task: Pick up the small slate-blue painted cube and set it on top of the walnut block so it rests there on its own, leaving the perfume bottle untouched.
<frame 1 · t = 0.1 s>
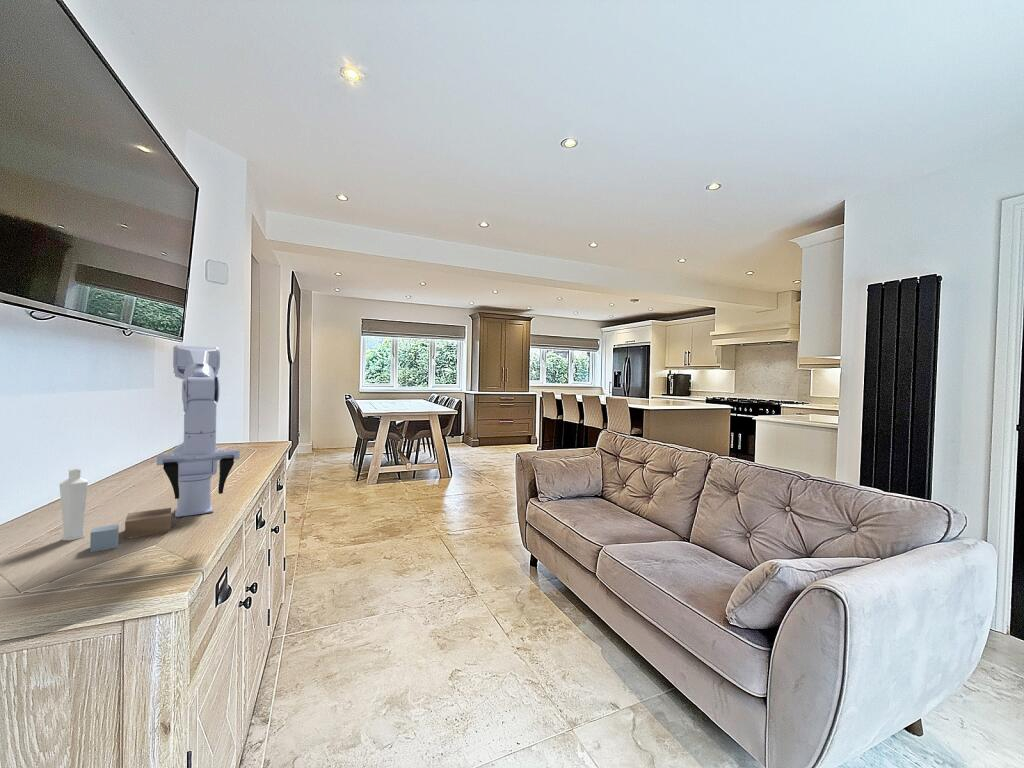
hand: (199, 495, 96), 10 cm above the table, tool pointing down, fingers open, 7 cm apart
perfume bottle: (73, 538, 98), on the table
walnut block: (149, 531, 103), on the table
slate-blue cube: (104, 547, 92), on the table
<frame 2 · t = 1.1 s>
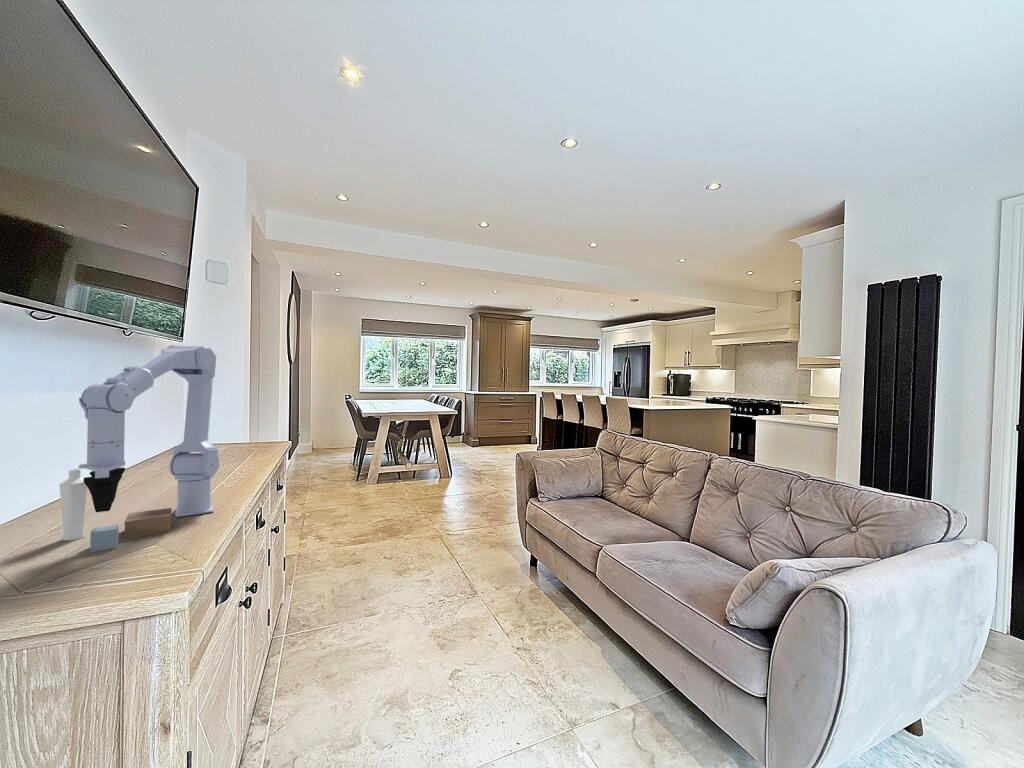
hand: (105, 507, 92), 8 cm above the table, tool pointing down, fingers open, 7 cm apart
nothing on the table moved.
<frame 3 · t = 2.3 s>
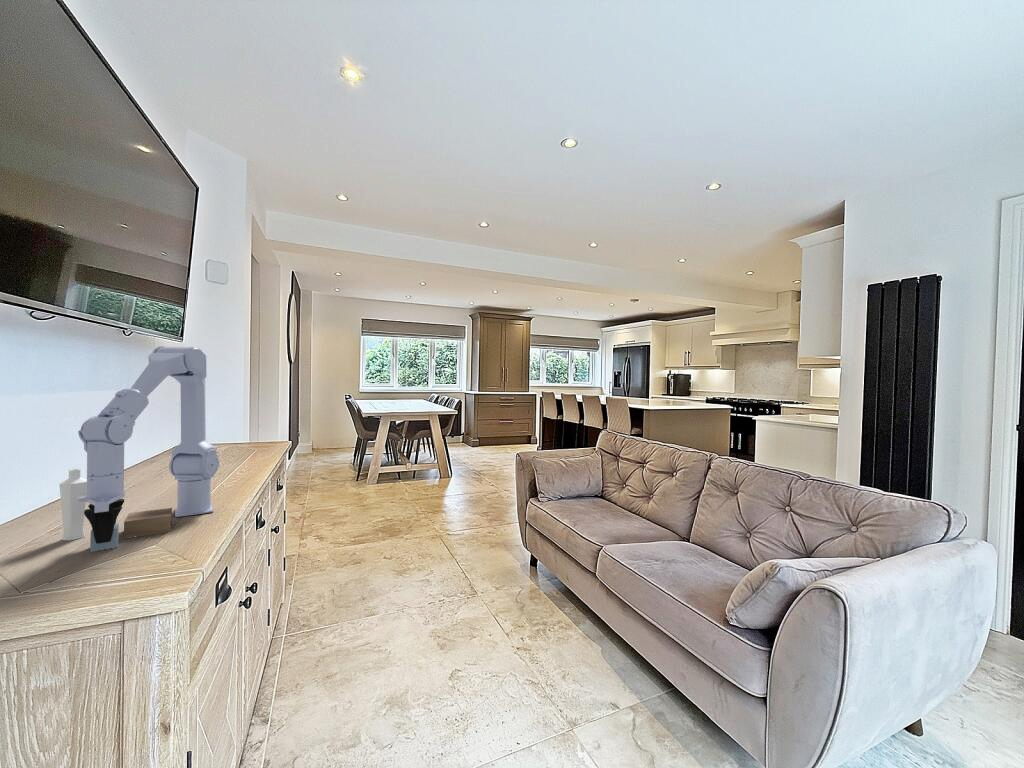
hand: (104, 539, 92), 2 cm above the table, tool pointing down, fingers closed on slate-blue cube, 4 cm apart
slate-blue cube: (104, 547, 92), on the table, touching gripper
everything else where it was.
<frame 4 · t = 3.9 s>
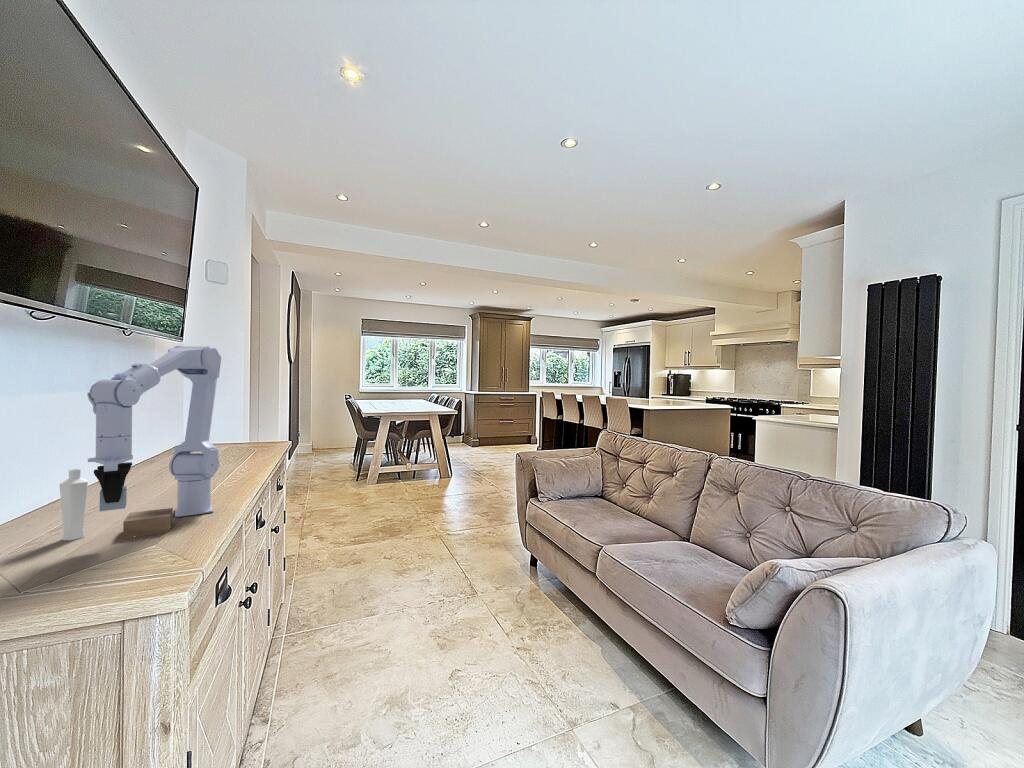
hand: (113, 500, 94), 9 cm above the table, tool pointing down, fingers closed on slate-blue cube, 4 cm apart
slate-blue cube: (113, 507, 94), point 8 cm above the table, touching gripper
everything else where it was.
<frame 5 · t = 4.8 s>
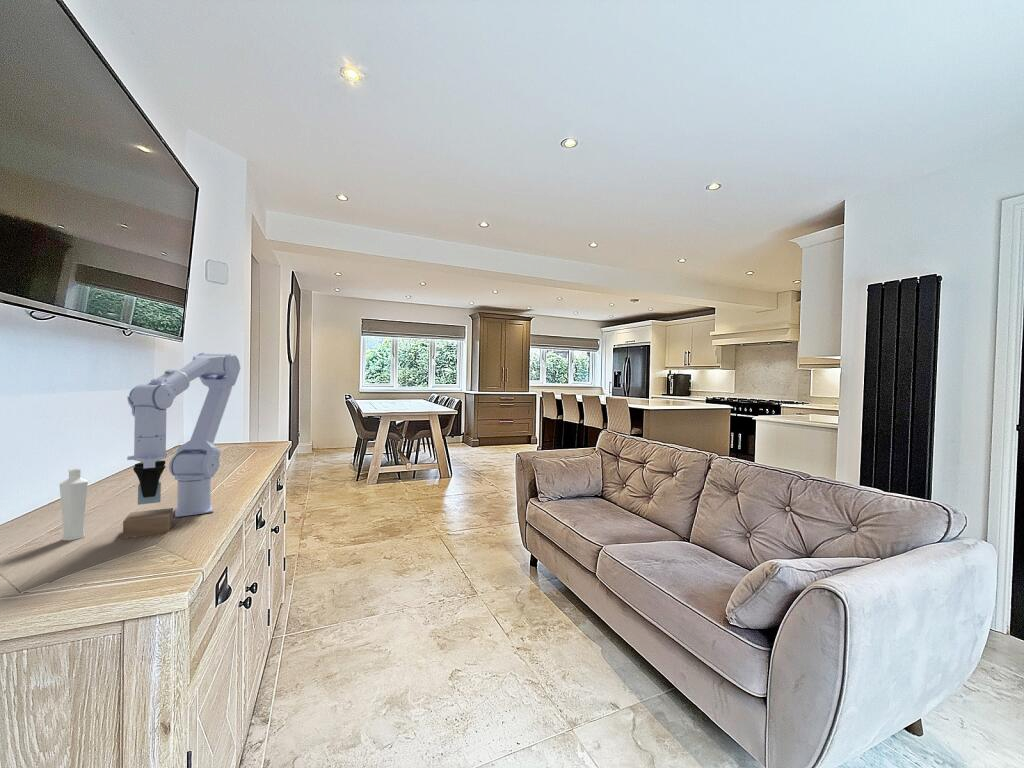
hand: (149, 494, 103), 8 cm above the table, tool pointing down, fingers closed on slate-blue cube, 4 cm apart
slate-blue cube: (149, 501, 103), point 7 cm above the table, touching gripper
everything else where it was.
when the fingers open (7 cm above the table, at t = 5.4 s): slate-blue cube drops 1 cm, resting on walnut block.
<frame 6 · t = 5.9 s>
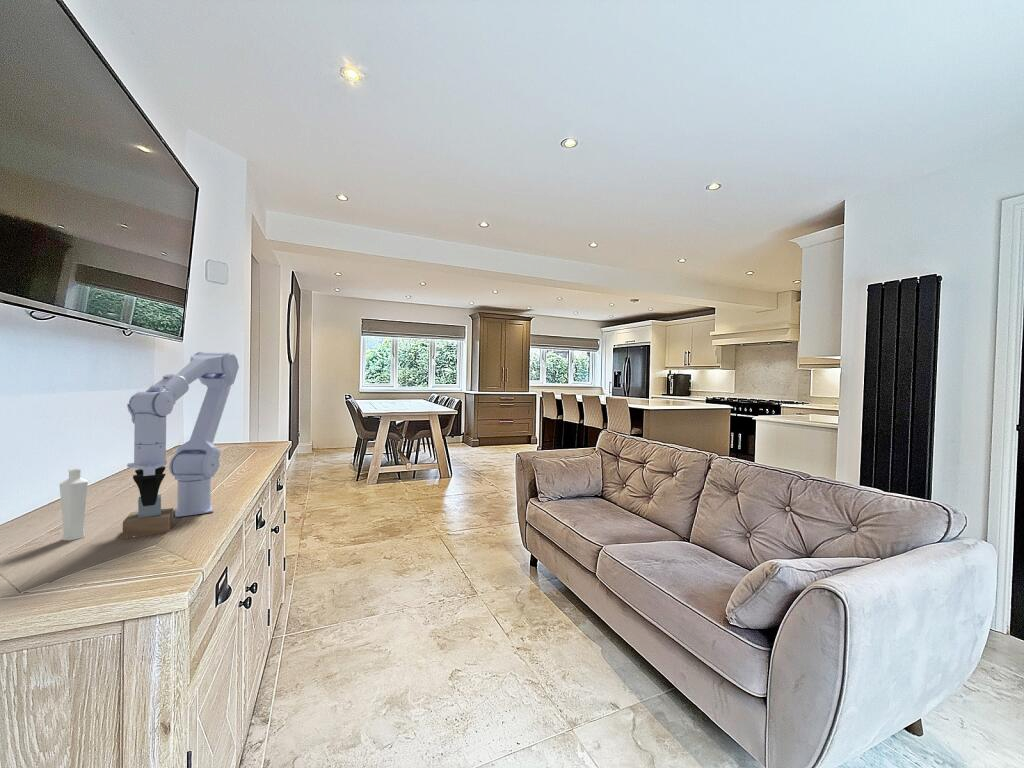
hand: (149, 501, 103), 7 cm above the table, tool pointing down, fingers open, 7 cm apart
walnut block: (149, 531, 103), on the table, touching slate-blue cube
slate-blue cube: (150, 514, 103), point 4 cm above the table, touching walnut block
everything else where it was.
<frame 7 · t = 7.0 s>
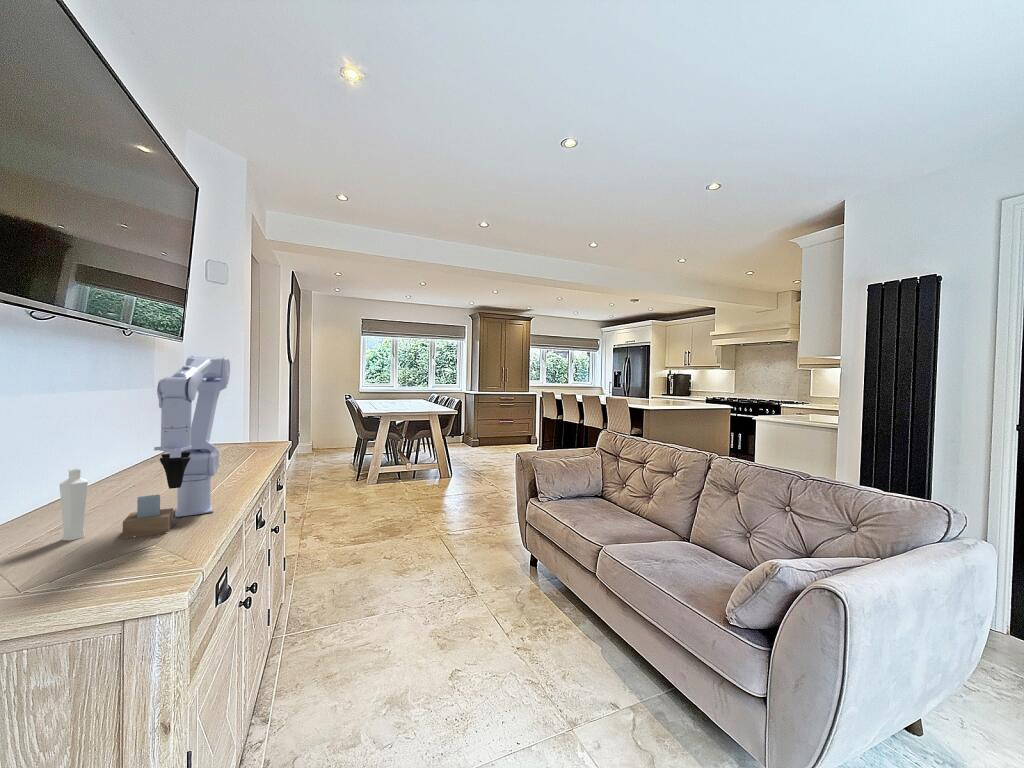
hand: (175, 485, 105), 10 cm above the table, tool pointing down, fingers open, 7 cm apart
nothing on the table moved.
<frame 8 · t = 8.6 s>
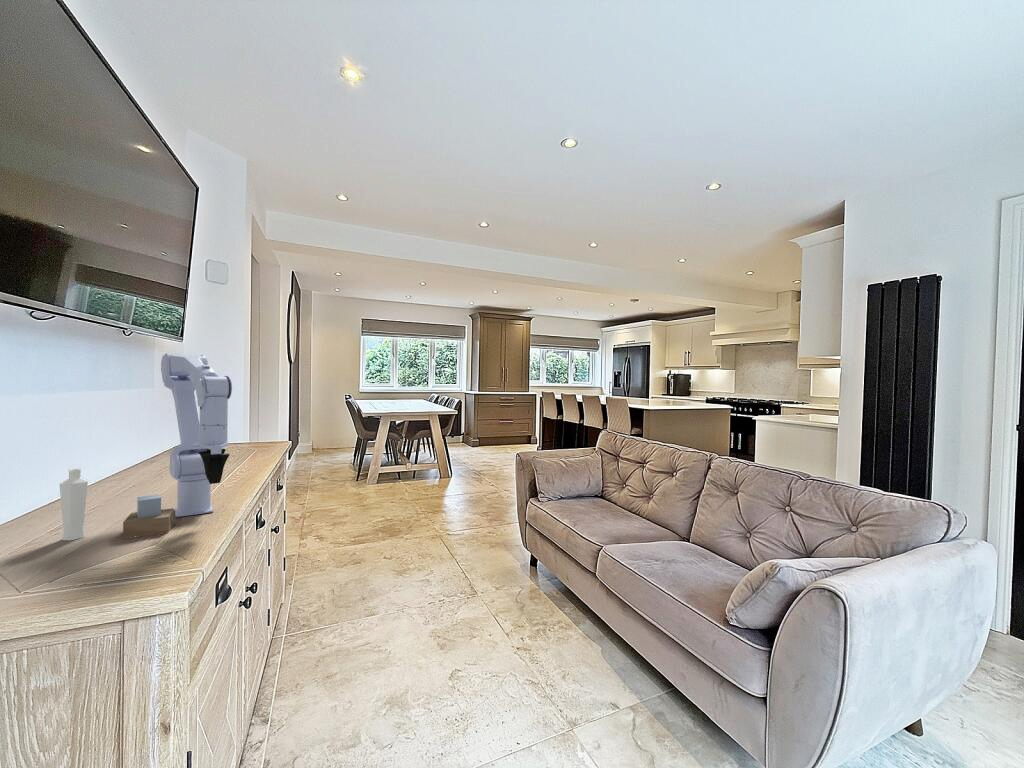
hand: (213, 480, 108), 10 cm above the table, tool pointing down, fingers open, 7 cm apart
walnut block: (149, 532, 103), on the table
slate-blue cube: (149, 514, 103), point 4 cm above the table
everything else where it was.
at the end: slate-blue cube 0.3 cm off-centre on the walnut block, point 4.0 cm above the walnut block's base; slate-blue cube tilted 0°; the gripper is holding nothing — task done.
